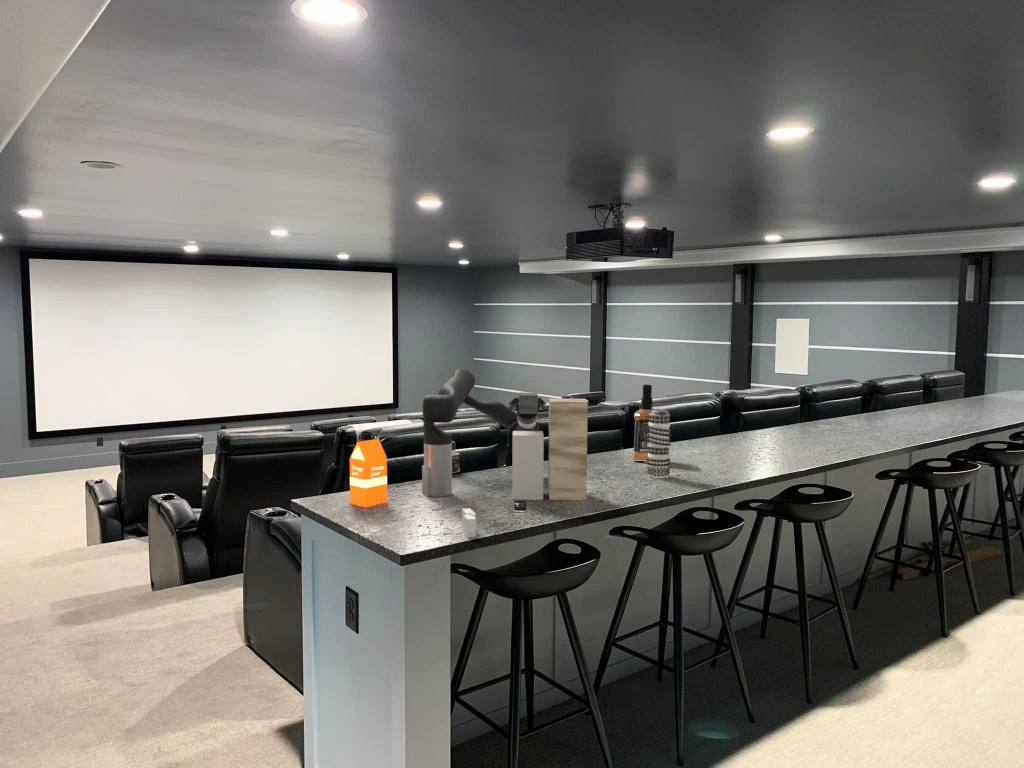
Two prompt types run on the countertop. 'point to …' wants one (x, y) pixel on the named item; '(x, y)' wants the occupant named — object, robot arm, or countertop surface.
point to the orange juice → (368, 474)
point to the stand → (567, 449)
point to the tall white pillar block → (527, 465)
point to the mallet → (528, 403)
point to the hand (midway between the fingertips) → (528, 395)
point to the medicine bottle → (455, 460)
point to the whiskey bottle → (642, 425)
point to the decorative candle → (658, 443)
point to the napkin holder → (469, 522)
